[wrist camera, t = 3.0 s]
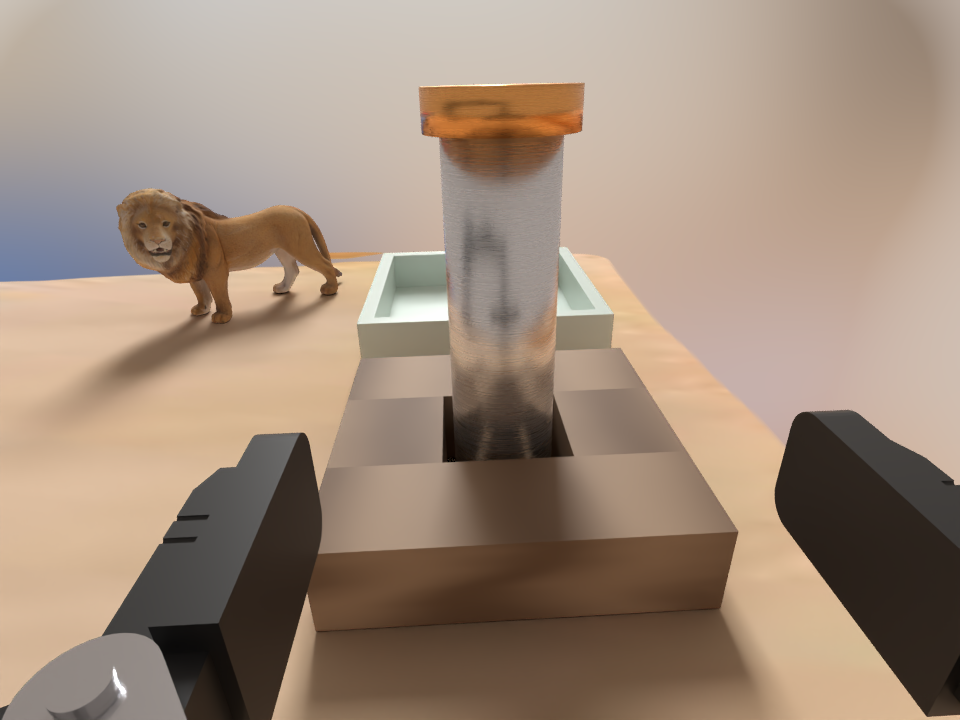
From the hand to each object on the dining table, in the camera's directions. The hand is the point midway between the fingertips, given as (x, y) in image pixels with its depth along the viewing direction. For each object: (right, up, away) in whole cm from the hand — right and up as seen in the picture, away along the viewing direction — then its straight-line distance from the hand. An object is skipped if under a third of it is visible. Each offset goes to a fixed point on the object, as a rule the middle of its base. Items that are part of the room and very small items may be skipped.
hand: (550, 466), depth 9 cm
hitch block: (0, -3, +13) cm, 13 cm away
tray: (-1, +4, +28) cm, 28 cm away
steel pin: (0, -3, +13) cm, 13 cm away
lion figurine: (-18, +5, +31) cm, 36 cm away
